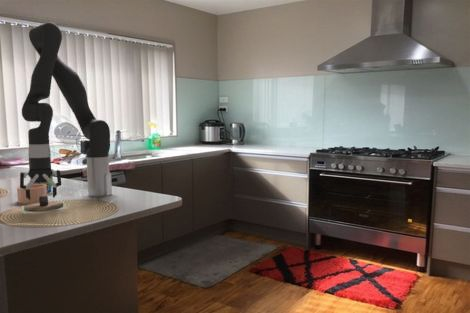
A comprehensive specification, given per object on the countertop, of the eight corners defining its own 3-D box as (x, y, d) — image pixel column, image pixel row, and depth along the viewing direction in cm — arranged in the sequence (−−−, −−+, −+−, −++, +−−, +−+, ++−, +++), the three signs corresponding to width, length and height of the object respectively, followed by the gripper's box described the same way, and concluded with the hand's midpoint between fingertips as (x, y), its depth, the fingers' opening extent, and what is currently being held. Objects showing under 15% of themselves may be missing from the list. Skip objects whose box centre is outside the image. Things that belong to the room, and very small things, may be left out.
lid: (69, 203, 166) (68, 192, 165) (53, 211, 152) (52, 199, 152) (36, 203, 166) (35, 192, 166) (16, 211, 153) (15, 200, 152)
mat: (67, 210, 156) (67, 208, 156) (23, 215, 149) (23, 213, 149) (62, 202, 169) (62, 201, 169) (21, 207, 162) (21, 205, 162)
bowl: (52, 199, 177) (51, 183, 176) (39, 204, 166) (38, 188, 165) (27, 199, 177) (26, 183, 177) (12, 204, 166) (11, 188, 166)
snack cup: (24, 191, 194) (22, 169, 193) (46, 188, 202) (45, 167, 201) (37, 195, 184) (36, 173, 183) (61, 192, 191) (59, 170, 190)
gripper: (59, 154, 164) (61, 194, 165) (18, 155, 157) (21, 198, 159) (60, 156, 157) (62, 198, 158) (18, 157, 151) (20, 201, 152)
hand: (41, 198), depth 159 cm, fingers open, 8 cm apart
